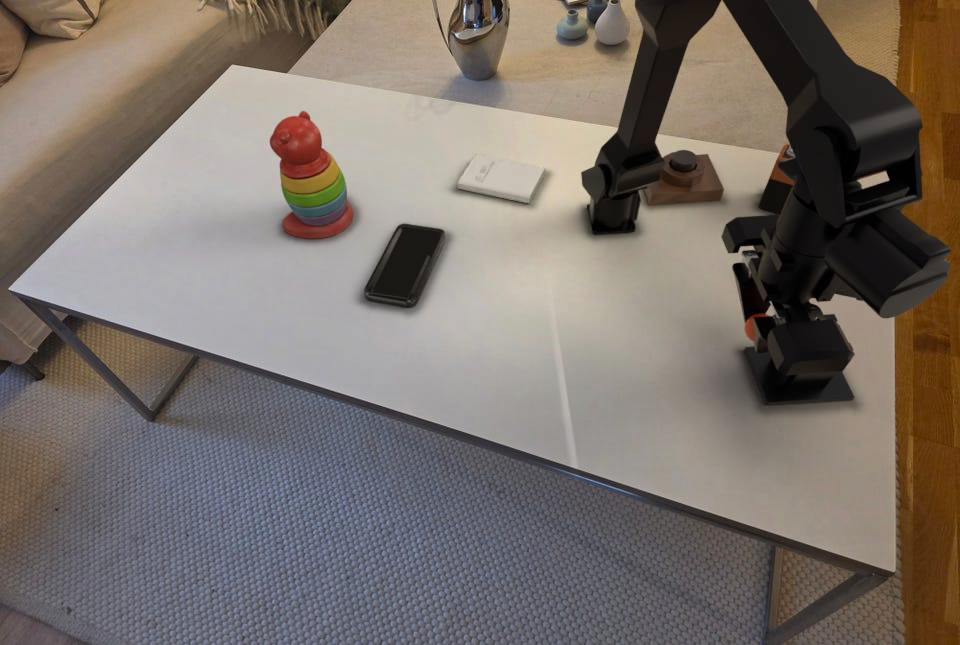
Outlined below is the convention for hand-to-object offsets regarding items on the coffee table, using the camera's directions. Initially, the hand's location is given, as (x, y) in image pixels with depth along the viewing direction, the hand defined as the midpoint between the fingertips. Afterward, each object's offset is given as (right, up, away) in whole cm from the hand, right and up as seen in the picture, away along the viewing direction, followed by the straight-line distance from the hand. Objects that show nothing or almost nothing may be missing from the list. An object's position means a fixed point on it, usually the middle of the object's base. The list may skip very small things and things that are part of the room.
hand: (755, 339), depth 64 cm
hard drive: (-27, +25, +33) cm, 49 cm away
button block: (+1, +24, +30) cm, 38 cm away
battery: (+16, +19, +25) cm, 35 cm away
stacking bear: (-55, +18, +30) cm, 66 cm away
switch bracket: (+8, -5, +6) cm, 11 cm away
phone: (-41, +10, +22) cm, 48 cm away
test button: (+1, +26, +27) cm, 37 cm away
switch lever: (+3, -1, +1) cm, 3 cm away
